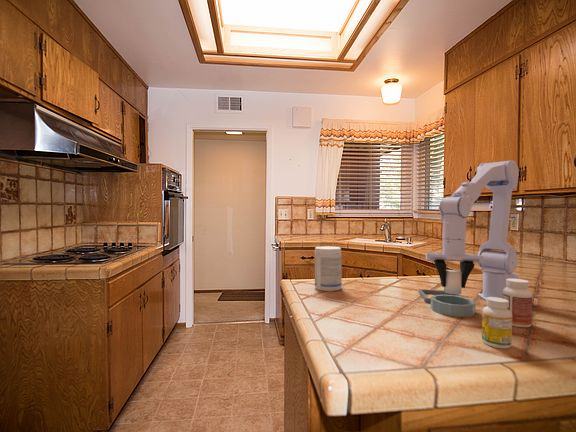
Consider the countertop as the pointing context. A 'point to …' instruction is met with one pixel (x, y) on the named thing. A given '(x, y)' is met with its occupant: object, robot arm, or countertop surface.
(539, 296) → the countertop surface
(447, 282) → the pestle
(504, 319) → the supplement bottle
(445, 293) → the empty gray rectangular frame
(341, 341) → the countertop surface
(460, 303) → the bowl
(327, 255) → the supplement tub
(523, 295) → the pill bottle
